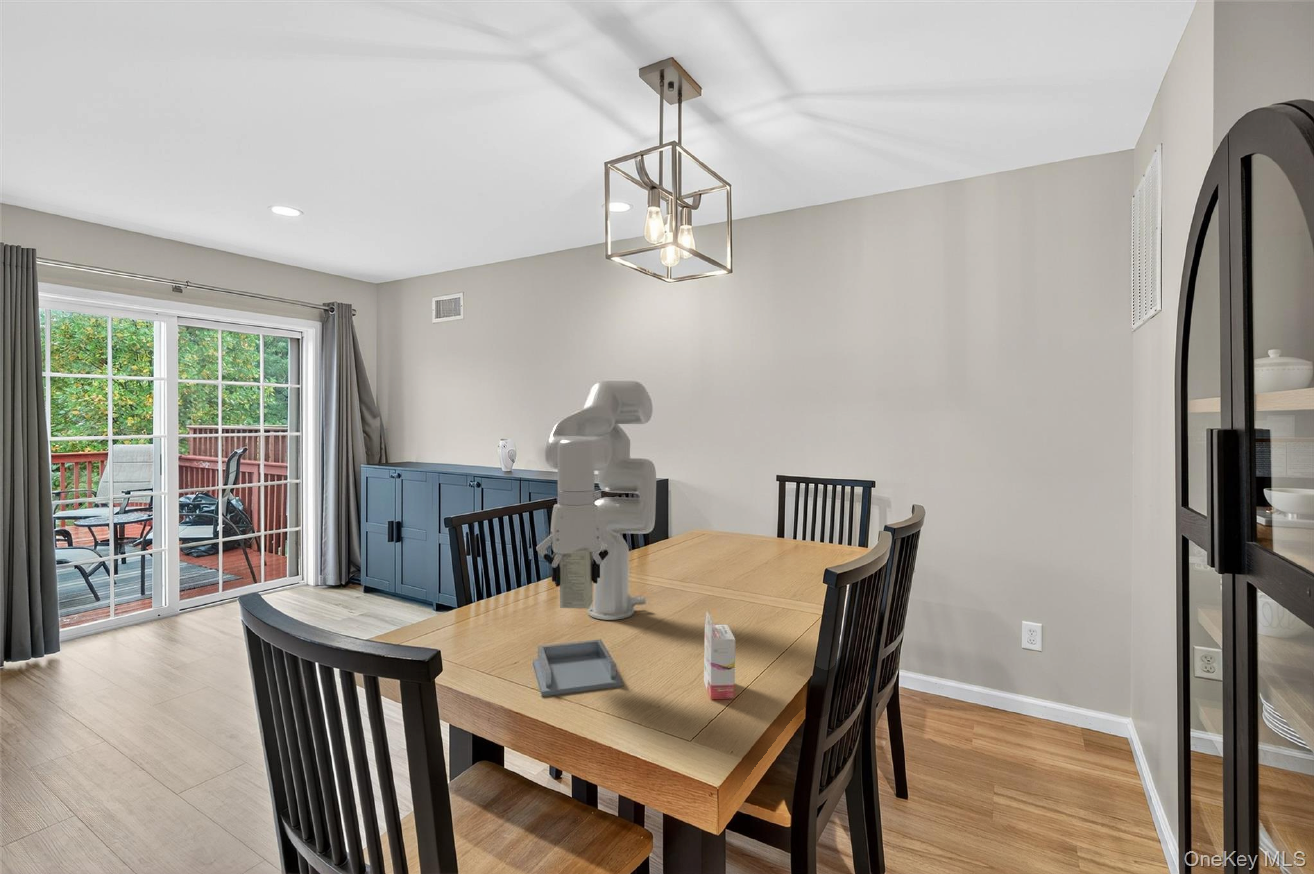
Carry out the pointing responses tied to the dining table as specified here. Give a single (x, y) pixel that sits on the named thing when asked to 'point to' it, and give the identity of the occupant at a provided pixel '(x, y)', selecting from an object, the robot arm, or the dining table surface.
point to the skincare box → (576, 580)
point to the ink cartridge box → (719, 660)
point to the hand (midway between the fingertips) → (575, 582)
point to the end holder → (575, 668)
